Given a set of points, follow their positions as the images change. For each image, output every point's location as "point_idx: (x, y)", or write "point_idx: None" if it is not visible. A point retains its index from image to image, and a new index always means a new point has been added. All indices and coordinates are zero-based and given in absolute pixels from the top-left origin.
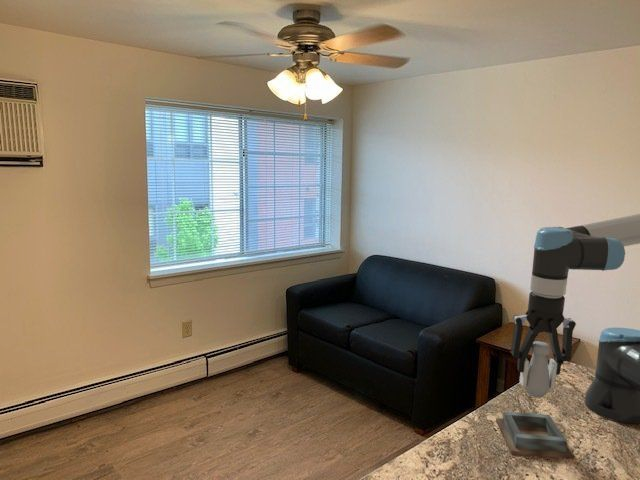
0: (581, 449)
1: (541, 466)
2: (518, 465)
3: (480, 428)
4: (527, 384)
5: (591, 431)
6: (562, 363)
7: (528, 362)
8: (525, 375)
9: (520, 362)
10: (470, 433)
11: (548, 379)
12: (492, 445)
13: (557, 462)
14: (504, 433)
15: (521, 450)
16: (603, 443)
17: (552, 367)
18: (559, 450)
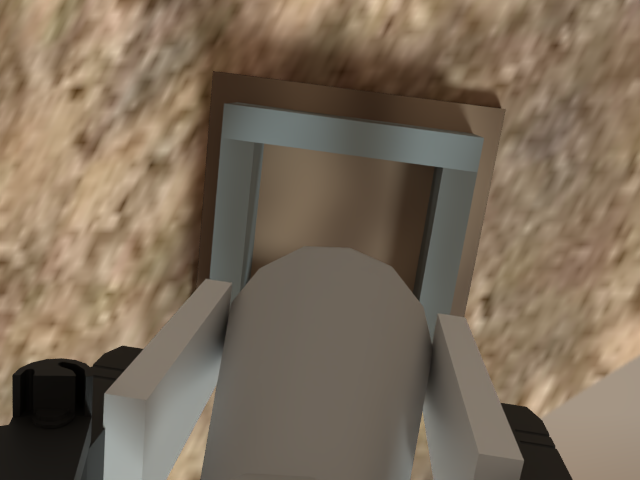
0: (144, 146)
1: (397, 13)
2: (507, 18)
3: (556, 313)
4: (425, 327)
5: (33, 282)
6: (42, 365)
7: (480, 447)
8: (470, 362)
9: (561, 476)
10: (627, 273)
11: (242, 319)
12: (561, 176)
13: (305, 45)
14: (470, 252)
15: (451, 113)
16: (22, 192)
17: (169, 393)
18: (265, 105)
